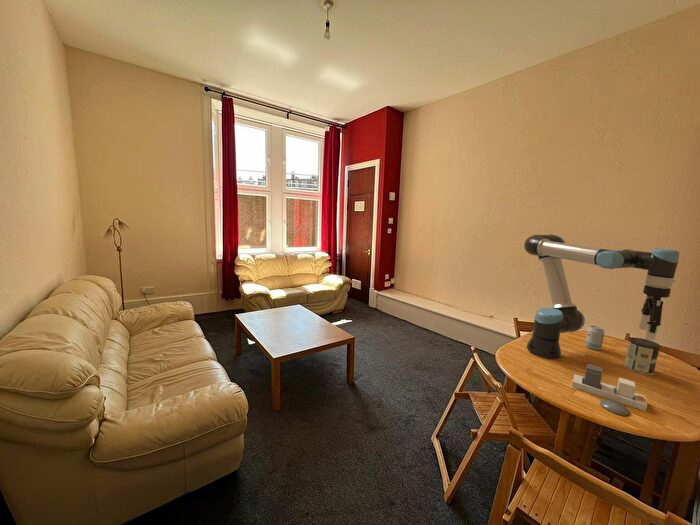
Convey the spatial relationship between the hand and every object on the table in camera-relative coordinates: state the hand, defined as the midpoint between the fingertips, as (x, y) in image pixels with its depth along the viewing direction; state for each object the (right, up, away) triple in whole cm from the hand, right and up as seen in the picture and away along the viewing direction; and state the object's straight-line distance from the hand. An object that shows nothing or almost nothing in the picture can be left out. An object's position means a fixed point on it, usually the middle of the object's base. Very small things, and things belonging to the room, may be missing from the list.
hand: (646, 334), depth 120 cm
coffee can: (+13, -21, +16) cm, 29 cm away
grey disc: (-26, -25, -14) cm, 39 cm away
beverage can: (+9, -17, +37) cm, 42 cm away
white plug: (-17, -22, -8) cm, 30 cm away
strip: (-21, -23, -5) cm, 32 cm away
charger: (-25, -21, -2) cm, 33 cm away
